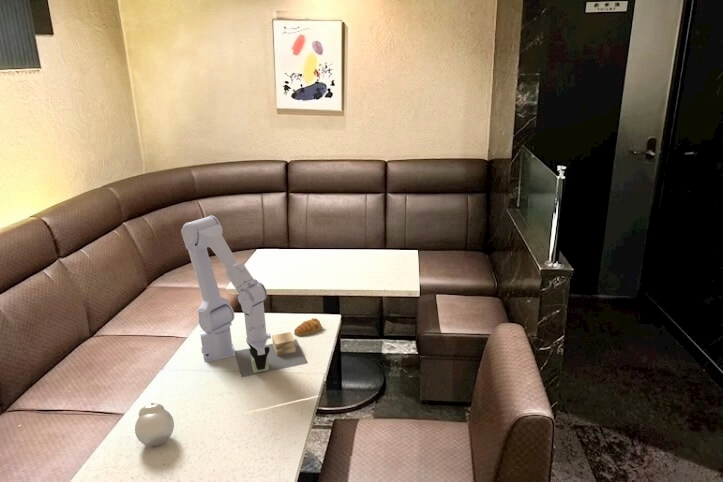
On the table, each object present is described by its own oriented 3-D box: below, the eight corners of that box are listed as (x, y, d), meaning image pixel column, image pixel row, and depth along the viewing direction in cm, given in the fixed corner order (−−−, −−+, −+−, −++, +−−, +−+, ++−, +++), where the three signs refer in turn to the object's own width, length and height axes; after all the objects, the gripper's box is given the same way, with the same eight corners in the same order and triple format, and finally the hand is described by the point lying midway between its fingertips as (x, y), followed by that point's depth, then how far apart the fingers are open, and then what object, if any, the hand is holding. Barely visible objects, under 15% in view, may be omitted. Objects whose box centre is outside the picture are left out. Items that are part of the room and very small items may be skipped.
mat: (241, 378, 157) (241, 377, 157) (234, 352, 171) (234, 351, 171) (308, 364, 163) (308, 363, 163) (296, 340, 177) (296, 339, 177)
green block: (253, 373, 158) (252, 361, 157) (251, 365, 162) (250, 353, 161) (268, 369, 160) (267, 358, 159) (266, 362, 164) (265, 350, 162)
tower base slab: (276, 355, 167) (276, 349, 167) (273, 346, 173) (272, 341, 172) (295, 351, 169) (295, 346, 169) (291, 343, 175) (291, 337, 174)
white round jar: (179, 426, 137) (174, 392, 134) (172, 451, 128) (166, 416, 125) (142, 430, 136) (136, 396, 132) (133, 456, 127) (125, 420, 124)
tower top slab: (276, 349, 167) (275, 344, 166) (272, 341, 172) (272, 335, 172) (295, 346, 169) (294, 340, 168) (291, 337, 174) (290, 332, 173)
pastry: (301, 340, 177) (300, 330, 176) (290, 333, 182) (289, 323, 181) (324, 331, 183) (323, 320, 182) (312, 324, 188) (311, 314, 187)
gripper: (273, 332, 151) (277, 374, 156) (264, 311, 164) (268, 350, 169) (248, 337, 149) (253, 379, 153) (241, 315, 162) (246, 355, 166)
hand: (259, 364), depth 161 cm, fingers closed on green block, 4 cm apart
